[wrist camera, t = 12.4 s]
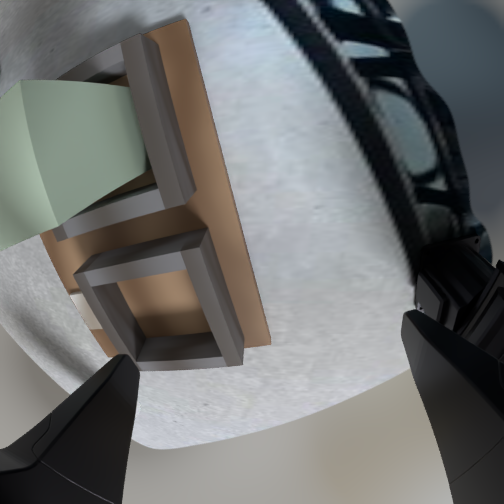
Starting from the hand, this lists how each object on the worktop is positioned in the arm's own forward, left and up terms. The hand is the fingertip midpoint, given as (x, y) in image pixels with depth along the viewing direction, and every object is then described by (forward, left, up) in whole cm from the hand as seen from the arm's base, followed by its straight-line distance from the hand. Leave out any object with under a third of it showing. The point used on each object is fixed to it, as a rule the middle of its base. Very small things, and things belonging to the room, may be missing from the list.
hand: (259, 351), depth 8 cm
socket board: (+10, -1, -12) cm, 16 cm away
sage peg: (+8, -8, -11) cm, 16 cm away
